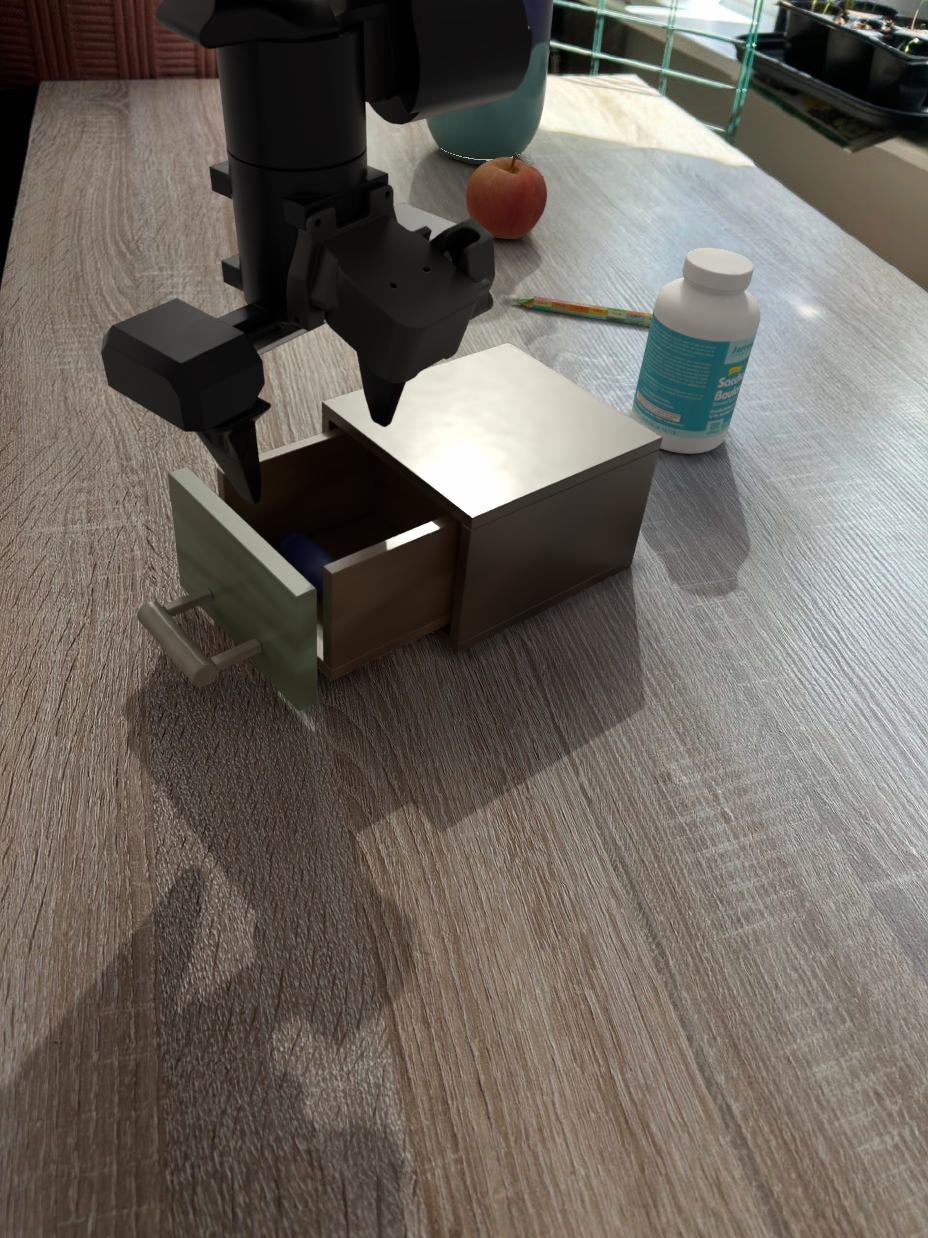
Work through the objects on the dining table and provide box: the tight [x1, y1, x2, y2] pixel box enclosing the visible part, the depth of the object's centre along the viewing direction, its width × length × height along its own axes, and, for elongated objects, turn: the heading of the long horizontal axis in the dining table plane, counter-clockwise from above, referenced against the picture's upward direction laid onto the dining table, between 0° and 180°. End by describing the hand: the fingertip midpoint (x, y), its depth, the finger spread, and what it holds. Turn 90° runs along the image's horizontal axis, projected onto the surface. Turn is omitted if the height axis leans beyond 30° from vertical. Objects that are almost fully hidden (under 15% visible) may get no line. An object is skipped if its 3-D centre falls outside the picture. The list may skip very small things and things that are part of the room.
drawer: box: [136, 427, 462, 713], centre depth 58 cm, size 18×12×8 cm
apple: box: [465, 152, 548, 240], centre depth 105 cm, size 8×8×8 cm
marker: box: [278, 532, 336, 602], centre depth 60 cm, size 8×2×2 cm
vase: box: [425, 0, 554, 166], centre depth 116 cm, size 14×14×31 cm
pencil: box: [510, 296, 653, 328], centre depth 95 cm, size 1×1×18 cm
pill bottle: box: [630, 247, 761, 455], centre depth 77 cm, size 8×7×14 cm
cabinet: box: [321, 342, 663, 655], centre depth 65 cm, size 15×14×10 cm
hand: (319, 459), depth 54 cm, fingers open, 9 cm apart
